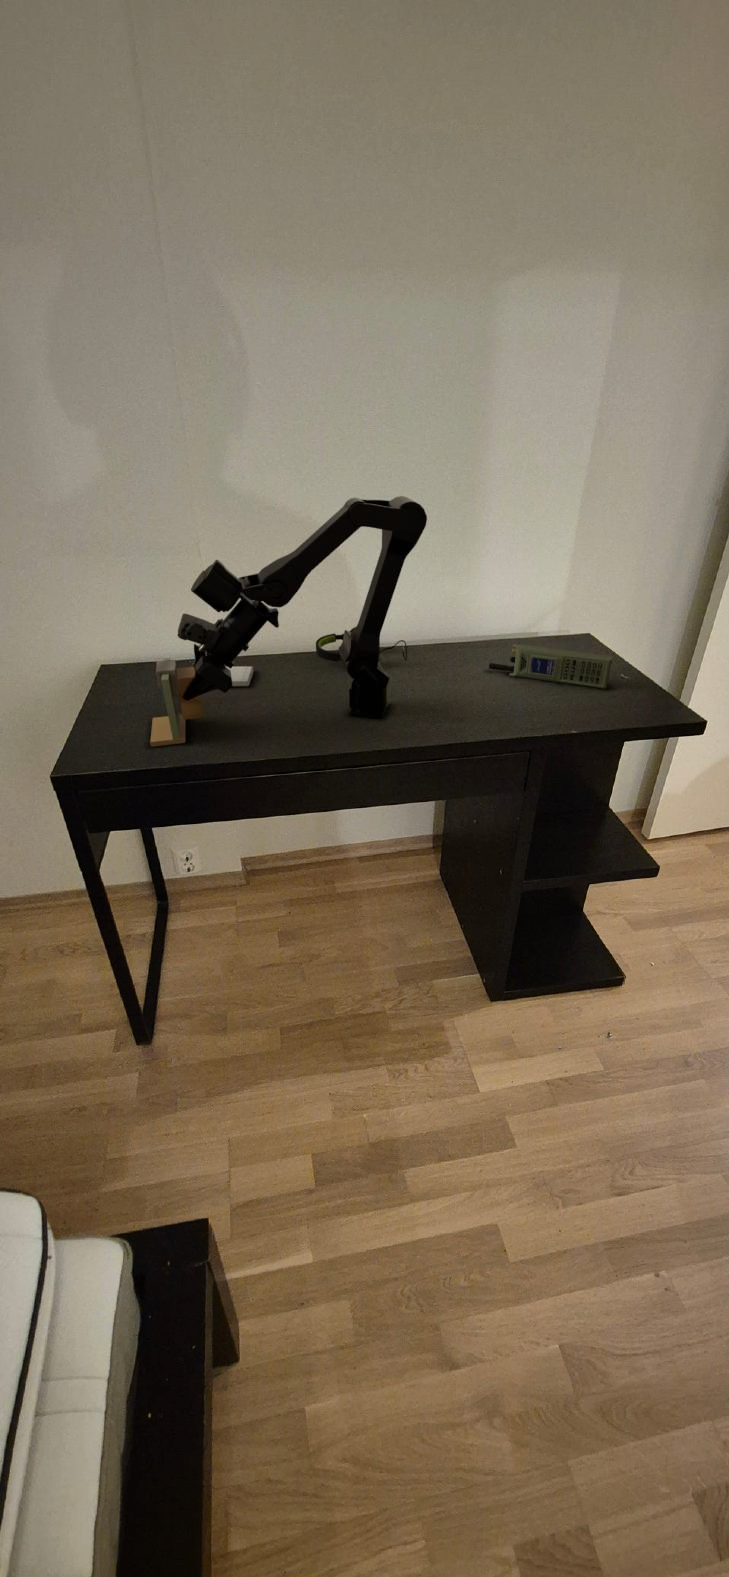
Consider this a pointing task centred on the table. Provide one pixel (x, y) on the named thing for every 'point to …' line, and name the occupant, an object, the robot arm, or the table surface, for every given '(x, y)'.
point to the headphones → (334, 655)
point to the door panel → (168, 720)
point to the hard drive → (241, 675)
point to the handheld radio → (559, 666)
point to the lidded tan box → (180, 688)
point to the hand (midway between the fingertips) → (184, 692)
